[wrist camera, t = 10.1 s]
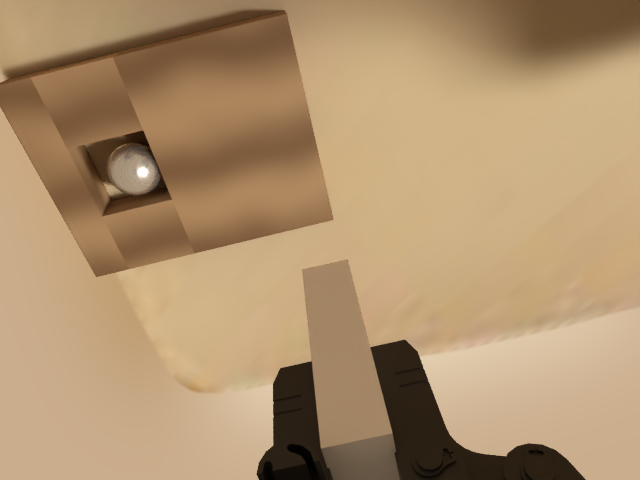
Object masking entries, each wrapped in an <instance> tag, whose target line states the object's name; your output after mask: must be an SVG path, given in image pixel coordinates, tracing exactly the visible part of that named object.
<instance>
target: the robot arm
mask: <svg viewBox="0 0 640 480" xmlns="http://www.w3.org/2000/svg"><path fill="white" fill-rule="evenodd" d="M302 272H303V281H304V291H305V301H306V310H307V320H308V330H309V339H310V349H311V358H312V361H311V362H307V363H302V364H298V365H293V366H289V367H284V368H280V370H279V372H278V375H277V377H276V379H275V381H274V383H273V402H274V404H273V414H274V418H273V430H274V431H273V434H274V436H273V440H274V446H272V447H271V448H270V449H269V450H268V451H266V453H265V454H264V456H263V457H262V459H261V461H260V462H259V466H258V470H257V476H258V478H259V480H585V479H584V478H583V476H582V475H581V474H580V473H579V472H578V471H577V470H576V469H575V468H574V466H573V465H572V464H571V463H570V462H569V461H568V460H567V459H566V458H565V457H563V456H562V455H561V454H560V453H558V452H557V451H556V450H554V449H551V448H549V447H547V446H544V445H540V444H524V445H521V446H517V447H516V448H514V449H513V450H512V451H510V452H509V453H508V454H507V456H506V457H505V456H496V455H486V454H480V453H475V452H472V451H470V450H467V449H465V448H464V447H462V446H461V445H459V444H458V443H456V441H455V440H453V438H452V437H451V436H450V434H449V432H448V431H447V429H446V426H445V424H444V421H443V418H442V416H441V413H440V410H439V408H438V405H437V403H436V400H435V397H434V395H433V392H432V390H431V387H430V384H429V382H428V379H427V376H426V373H425V371H424V369H423V365H422V363H421V360H420V357H419V355H418V352H417V351H416V350H415V349H414V348H413V347H412V346H411V345H410V344H409V343H408V342H407V341H406V340H401V341H397V342H392V343H388V344H383V345H379V346H374V347H370V344H369V340H368V337H367V333H366V329H365V325H364V321H363V317H362V313H361V310H360V306H359V302H358V298H357V294H356V290H355V286H354V282H353V279H352V275H351V271H350V267H349V263H348V259H347V260H343V261H339V262H334V263H330V264H325V265H321V266H317V267H312V268H308V269H303V270H302Z"/></svg>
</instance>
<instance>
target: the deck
mask: <svg viewBox="0 0 640 480" xmlns="http://www.w3.org/2000/svg"><path fill="white" fill-rule="evenodd" d="M0 107H1V109H2V111H3V112H4V114H5V116H6V118H7V119H8V121H9V123H10V125H11V126H12V128H13V130H14V132H15V134H16V135H17V137H18V139H19V141H20V142H21V144H22V146H23V148H24V150H25V151H26V153H27V155H28V157H29V158H30V160H31V162H32V164H33V165H34V167H35V169H36V171H37V173H38V174H39V176H40V178H41V180H42V182H43V183H44V185H45V187H46V189H47V190H48V192H49V194H50V196H51V197H52V199H53V201H54V203H55V205H56V206H57V208H58V210H59V211H60V213H61V215H62V217H63V219H64V221H65V222H66V224H67V226H68V228H69V229H70V231H71V233H72V235H73V237H74V238H75V240H76V242H77V244H78V245H79V247H80V249H81V251H82V252H83V254H84V256H85V258H86V259H87V261H88V263H89V265H90V267H91V268H92V270H93V272H94V274H95V275H96V277H98V276H102V275H106V274H111V273H115V272H119V271H123V270H127V269H131V268H135V267H140V266H144V265H148V264H152V263H156V262H160V261H164V260H169V259H173V258H177V257H181V256H185V255H189V254H194V253H198V252H202V251H206V250H210V249H214V248H218V247H223V246H227V245H231V244H235V243H239V242H243V241H247V240H252V239H256V238H260V237H264V236H268V235H272V234H276V233H281V232H285V231H289V230H293V229H297V228H301V227H306V226H310V225H314V224H318V223H322V222H326V221H330V220H333V216H332V211H331V207H330V202H329V198H328V194H327V189H326V185H325V180H324V176H323V172H322V167H321V163H320V158H319V154H318V150H317V145H316V141H315V136H314V132H313V128H312V123H311V119H310V114H309V110H308V106H307V101H306V97H305V92H304V88H303V84H302V79H301V75H300V71H299V66H298V62H297V57H296V53H295V49H294V44H293V40H292V35H291V31H290V27H289V22H288V18H287V14H286V12H285V10H284V11H280V12H276V13H272V14H268V15H264V16H260V17H256V18H252V19H248V20H244V21H240V22H236V23H232V24H228V25H224V26H220V27H216V28H212V29H208V30H204V31H200V32H196V33H192V34H188V35H184V36H180V37H176V38H172V39H168V40H164V41H160V42H156V43H151V44H147V45H143V46H139V47H135V48H131V49H127V50H123V51H119V52H115V53H111V54H107V55H103V56H99V57H95V58H91V59H87V60H83V61H79V62H75V63H71V64H67V65H63V66H59V67H55V68H51V69H47V70H43V71H39V72H35V73H31V74H27V75H23V76H19V77H15V78H11V79H8V80H6V81H3V82H1V83H0ZM142 130H143V131H144V133H145V136H146V138H147V141H148V143H149V145H150V148H151V150H152V153H153V155H154V157H155V160H156V162H157V164H158V167H159V169H160V172H161V174H162V176H163V179H164V181H165V184H166V186H167V188H163V189H159V190H155V191H151V192H148V193H146V194H142V195H135V196H130V197H126V198H122V199H118V200H114V201H112V200H111V198H110V196H109V194H108V192H107V190H106V188H105V186H104V184H103V182H102V180H101V178H100V176H99V174H98V172H97V170H96V168H95V166H94V164H93V162H92V160H91V158H90V156H89V154H88V152H87V150H86V148H85V146H84V145H85V144H90V143H94V142H98V141H102V140H106V139H110V138H114V137H118V136H122V135H126V134H130V133H134V132H138V131H142Z"/></svg>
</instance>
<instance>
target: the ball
mask: <svg viewBox="0 0 640 480" xmlns="http://www.w3.org/2000/svg"><path fill="white" fill-rule="evenodd" d="M107 174H108V177H109V179H110V181H111V183H112V184H113V185H114V186H115V187H116V188H117V189H118V190H120V191H121V192H124V193H126V194H129V195H142V194H146V193H148V192H150V191H152V190H153V189H154V188H155V187H156V186H157V185H158V183H159V182H160V179H161V176H162V174H161V172H160V169H159V167H158V164H157V162H156V160H155V157H154V155H153V153H152V150H151V149H150V148H149V147H147V146H145V145H143V144H139V143H127V144H124V145H121V146H119V147H118V148H116V149H115V150H114V151H113V152H112V153H111V155H110V156H109V158H108V161H107Z"/></svg>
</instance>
